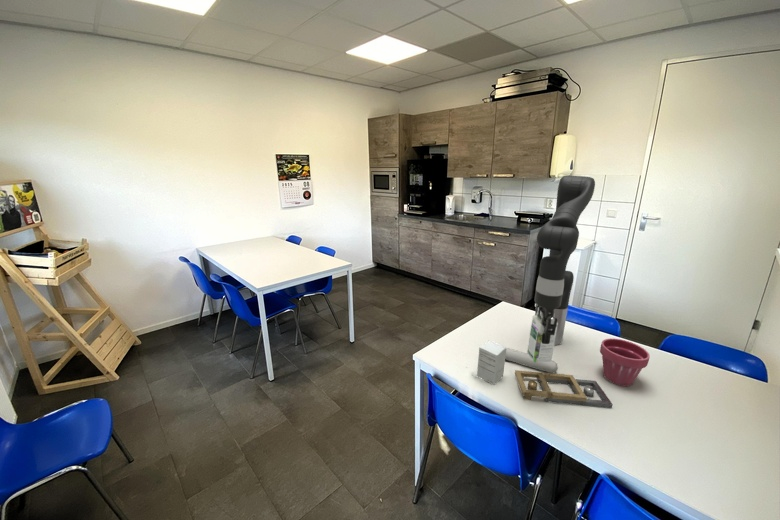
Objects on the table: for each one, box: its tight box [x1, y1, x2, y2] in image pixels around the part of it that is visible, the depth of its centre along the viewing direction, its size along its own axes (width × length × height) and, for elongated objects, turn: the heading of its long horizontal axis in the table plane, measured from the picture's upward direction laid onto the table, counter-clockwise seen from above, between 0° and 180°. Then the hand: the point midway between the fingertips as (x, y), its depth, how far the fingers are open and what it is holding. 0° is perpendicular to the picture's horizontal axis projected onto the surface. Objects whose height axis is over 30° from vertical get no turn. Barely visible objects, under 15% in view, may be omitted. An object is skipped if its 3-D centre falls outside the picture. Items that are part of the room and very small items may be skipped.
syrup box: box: [526, 314, 558, 363], centre depth 104 cm, size 6×6×14 cm
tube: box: [505, 347, 559, 374], centre depth 127 cm, size 5×5×25 cm
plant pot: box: [599, 338, 651, 387], centre depth 117 cm, size 14×14×13 cm
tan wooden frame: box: [514, 369, 588, 402], centre depth 112 cm, size 12×20×3 cm, turn 81°
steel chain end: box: [536, 378, 613, 409], centre depth 111 cm, size 12×20×2 cm, turn 81°
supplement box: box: [476, 339, 507, 386], centre depth 118 cm, size 7×7×13 cm
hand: (542, 337), depth 104 cm, fingers closed on syrup box, 6 cm apart
